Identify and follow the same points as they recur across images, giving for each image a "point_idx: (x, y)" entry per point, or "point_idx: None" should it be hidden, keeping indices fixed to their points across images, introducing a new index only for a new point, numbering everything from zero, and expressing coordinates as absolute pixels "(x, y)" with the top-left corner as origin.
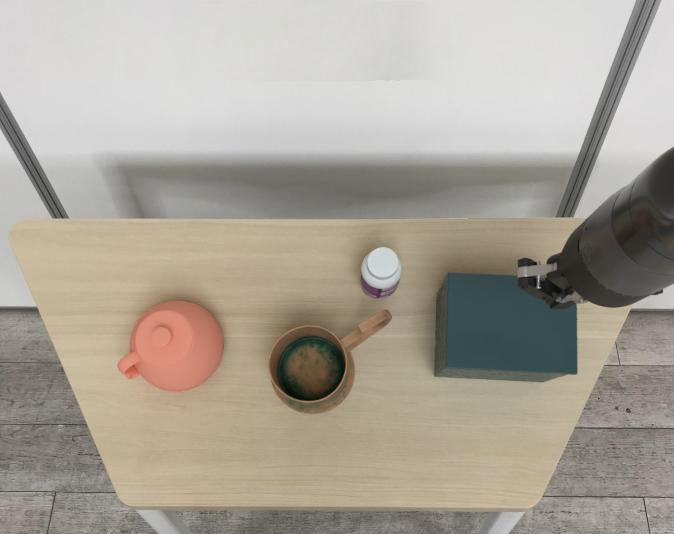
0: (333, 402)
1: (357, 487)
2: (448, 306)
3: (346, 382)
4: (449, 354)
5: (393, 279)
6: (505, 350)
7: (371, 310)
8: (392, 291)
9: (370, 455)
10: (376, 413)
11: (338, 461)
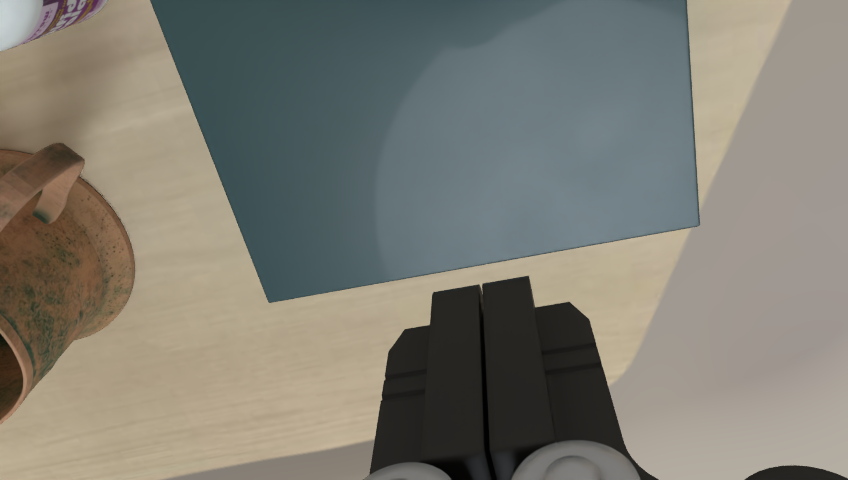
0: (103, 315)
1: (243, 438)
2: (195, 112)
3: (106, 270)
4: (262, 265)
5: (12, 16)
6: (439, 209)
7: (83, 55)
8: (86, 4)
9: (242, 381)
10: (217, 301)
11: (183, 405)
